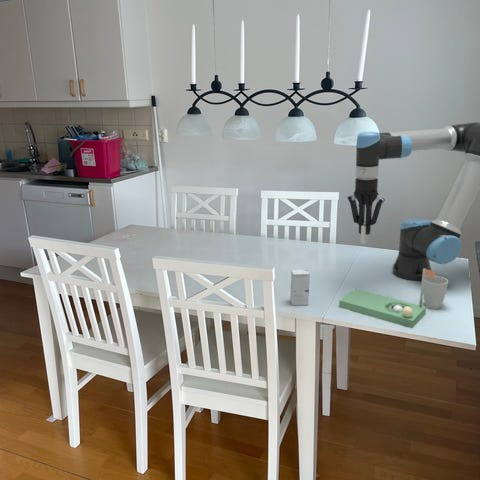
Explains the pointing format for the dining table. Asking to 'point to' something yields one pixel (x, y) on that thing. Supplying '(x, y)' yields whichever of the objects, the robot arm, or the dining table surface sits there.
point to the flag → (425, 273)
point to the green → (381, 307)
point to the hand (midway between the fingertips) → (364, 242)
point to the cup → (434, 291)
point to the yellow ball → (407, 311)
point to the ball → (397, 308)
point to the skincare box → (299, 287)
